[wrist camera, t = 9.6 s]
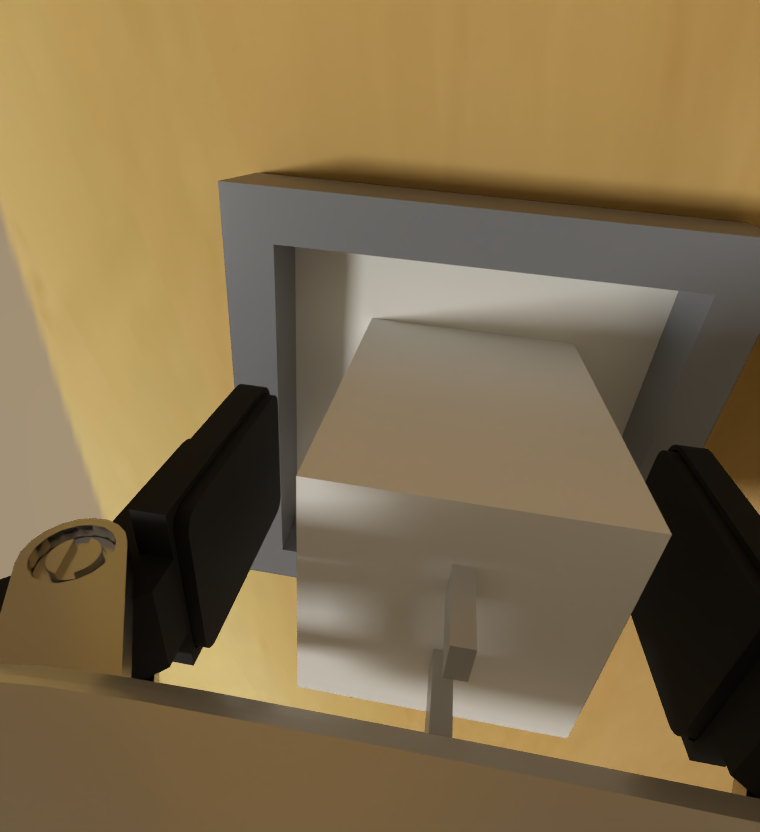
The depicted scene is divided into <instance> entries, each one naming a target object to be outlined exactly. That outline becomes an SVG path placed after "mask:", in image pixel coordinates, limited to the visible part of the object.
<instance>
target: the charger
mask: <svg viewBox="0 0 760 832" xmlns="http://www.w3.org/2000/svg"><path fill="white" fill-rule="evenodd" d="M671 536H672V534H671V532H670V530H669V528H668V526H667V524H666V522H665V520H664V518H663V516H662V514H661V512H660V510H659V508H658V507H657V505H656V503H655V501H654V499H653V497H652V495H651V493H650V491H649V489H648V487H647V485H646V483H645V481H644V479H643V477H642V475H641V473H640V472H639V470H638V468H637V466H636V464H635V462H634V460H633V458H632V456H631V454H630V452H629V450H628V448H627V446H626V444H625V442H624V440H623V438H622V437H621V435H620V433H619V431H618V429H617V427H616V425H615V423H614V421H613V419H612V417H611V415H610V413H609V411H608V409H607V407H606V405H605V404H604V402H603V400H602V398H601V396H600V394H599V392H598V390H597V388H596V386H595V384H594V382H593V380H592V378H591V376H590V374H589V372H588V370H587V369H586V367H585V365H584V363H583V361H582V359H581V357H580V355H579V353H578V351H577V349H576V347H575V345H574V344H572V343H564V342H557V341H549V340H541V339H533V338H525V337H517V336H509V335H501V334H493V333H486V332H478V331H470V330H462V329H454V328H446V327H438V326H430V325H422V324H415V323H407V322H399V321H391V320H383V319H375V318H372V319H371V321H370V324H369V326H368V328H367V330H366V332H365V334H364V336H363V338H362V340H361V342H360V344H359V346H358V348H357V350H356V353H355V355H354V357H353V359H352V361H351V363H350V365H349V367H348V369H347V371H346V373H345V375H344V377H343V380H342V382H341V384H340V386H339V388H338V390H337V392H336V394H335V396H334V398H333V400H332V402H331V404H330V407H329V409H328V411H327V413H326V415H325V417H324V419H323V421H322V423H321V425H320V427H319V429H318V431H317V434H316V436H315V438H314V440H313V442H312V444H311V446H310V448H309V450H308V452H307V454H306V456H305V458H304V461H303V463H302V465H301V467H300V469H299V471H298V473H297V475H296V537H297V662H298V687H302V688H307V689H313V690H318V691H323V692H328V693H333V694H339V695H344V696H349V697H354V698H359V699H365V700H370V701H375V702H380V703H385V704H391V705H396V706H401V707H406V708H411V709H417V710H422V711H426V720H425V733H429V734H435V735H440V736H445V737H450V738H452V720H453V717H458V718H463V719H469V720H474V721H479V722H484V723H490V724H495V725H500V726H505V727H510V728H516V729H521V730H526V731H531V732H536V733H542V734H547V735H552V736H557V737H562V738H568V736H569V734H570V732H571V730H572V728H573V726H574V724H575V722H576V720H577V718H578V716H579V714H580V712H581V710H582V708H583V706H584V705H585V703H586V701H587V699H588V697H589V695H590V693H591V691H592V689H593V687H594V685H595V683H596V681H597V679H598V677H599V675H600V673H601V672H602V670H603V668H604V666H605V664H606V662H607V660H608V658H609V656H610V654H611V652H612V650H613V648H614V646H615V644H616V642H617V640H618V638H619V637H620V635H621V633H622V631H623V629H624V627H625V625H626V623H627V621H628V619H629V617H630V615H631V613H632V611H633V609H634V607H635V605H636V604H637V602H638V600H639V598H640V596H641V594H642V592H643V590H644V588H645V586H646V584H647V582H648V580H649V578H650V576H651V574H652V572H653V570H654V569H655V567H656V565H657V563H658V561H659V559H660V557H661V555H662V553H663V551H664V549H665V547H666V545H667V543H668V541H669V539H670V537H671Z"/></svg>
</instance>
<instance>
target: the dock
mask: <svg viewBox="0 0 760 832" xmlns="http://www.w3.org/2000/svg"><path fill="white" fill-rule="evenodd" d="M218 186H219V198H220V211H221V223H222V236H223V248H224V261H225V274H226V286H227V299H228V311H229V324H230V336H231V349H232V361H233V374H234V386H235V388H236V387H237V386H238V385H239V384H246V385H254V386H261V387H267V388H268V389H269V392H270V395H276V397H277V399H278V423H279V456H280V489H281V499H280V505H279V509H278V512H277V515H276V517H275V519H274V521H273V523H272V525H271V527H270V529H269V531H268V533H267V535H266V537H265V539H264V541H263V543H262V545H261V548H260V550H259V552H258V554H257V556H256V558H255V560H254V562H253V564H252V566H251V568H250V570H256V571H262V572H268V573H273V574H279V575H285V576H291V577H297V537H296V475H297V473H298V471H299V469H300V467H301V465H302V463H303V461H304V458H305V456H306V454H307V452H308V450H309V448H310V446H311V444H312V442H313V440H314V438H315V436H316V434H317V431H318V429H319V427H320V425H321V423H322V421H323V419H324V417H325V415H326V413H327V411H328V409H329V407H330V404H331V402H332V400H333V398H334V396H335V394H336V392H337V390H338V388H339V386H340V384H341V382H342V380H343V377H344V375H345V373H346V371H347V369H348V367H349V365H350V363H351V361H352V359H353V357H354V355H355V353H356V350H357V348H358V346H359V344H360V342H361V340H362V338H363V336H364V334H365V332H366V330H367V328H368V326H369V324H370V321H371V319H372V318H375V319H383V320H391V321H399V322H407V323H415V324H422V325H430V326H438V327H446V328H454V329H462V330H470V331H478V332H486V333H493V334H501V335H509V336H517V337H525V338H533V339H541V340H549V341H557V342H564V343H572V344H574V345H575V347H576V349H577V351H578V353H579V355H580V357H581V359H582V361H583V363H584V365H585V367H586V369H587V370H588V372H589V374H590V376H591V378H592V380H593V382H594V384H595V386H596V388H597V390H598V392H599V394H600V396H601V398H602V400H603V402H604V404H605V405H606V407H607V409H608V411H609V413H610V415H611V417H612V419H613V421H614V423H615V425H616V427H617V429H618V431H619V433H620V435H621V437H622V438H623V440H624V442H625V444H626V446H627V448H628V450H629V452H630V454H631V456H632V458H633V460H634V462H635V464H636V466H637V468H638V470H639V472H640V473H641V475H642V477H643V479H644V481H646V479H647V477H648V475H649V472H650V470H651V468H652V466H653V463H654V461H655V459H656V457H657V455H658V453H659V452H660V451H662V450H666V451H667V450H668V449H669V448H670V447H671V446H672V445H675V444H676V445H683V446H690V447H697V448H703V447H704V445H705V443H706V441H707V439H708V437H709V435H710V433H711V431H712V429H713V427H714V425H715V423H716V421H717V419H718V417H719V415H720V413H721V411H722V409H723V407H724V405H725V403H726V401H727V399H728V397H729V395H730V393H731V391H732V389H733V387H734V385H735V383H736V381H737V378H738V376H739V374H740V372H741V370H742V368H743V366H744V364H745V362H746V360H747V358H748V356H749V354H750V352H751V350H752V348H753V346H754V344H755V342H756V340H757V338H758V336H759V334H760V227H757V226H754V225H751V224H748V223H745V222H736V221H726V220H716V219H706V218H696V217H687V216H677V215H667V214H657V213H647V212H638V211H628V210H618V209H608V208H599V207H589V206H579V205H569V204H559V203H550V202H540V201H530V200H520V199H510V198H501V197H491V196H481V195H471V194H462V193H452V192H442V191H432V190H422V189H413V188H403V187H393V186H383V185H373V184H364V183H354V182H344V181H334V180H325V179H315V178H305V177H295V176H285V175H276V174H266V173H253V174H249V175H244V176H239V177H235V178H230V179H225V180H221V181H218Z"/></svg>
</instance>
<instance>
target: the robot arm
mask: <svg viewBox="0 0 760 832" xmlns="http://www.w3.org/2000/svg"><path fill="white" fill-rule="evenodd" d="M645 483H646V485H647V487H648V489H649V491H650V493H651V495H652V497H653V499H654V501H655V503H656V505H657V507H658V508H659V510H660V512H661V514H662V516H663V518H664V520H665V522H666V524H667V526H668V528H669V530H670V532H671V534H672V536H671V537H670V539H669V541H668V543H667V545H666V547H665V549H664V551H663V553H662V555H661V557H660V559H659V561H658V563H657V565H656V567H655V569H654V570H653V572H652V574H651V576H650V578H649V580H648V582H647V584H646V586H645V588H644V590H643V592H642V594H641V596H640V598H639V600H638V602H637V604H636V605H635V607H634V609H633V611H632V613H631V616H632V619H633V622H634V625H635V627H636V630H637V633H638V636H639V639H640V642H641V645H642V648H643V651H644V653H645V656H646V659H647V662H648V665H649V668H650V671H651V674H652V677H653V680H654V682H655V685H656V688H657V691H658V694H659V697H660V700H661V703H662V706H663V708H664V711H665V714H666V717H667V720H668V723H669V725H670V728H671V730H672V731H673V732H674V734H676V735H677V736H681V737H682V740H683V743H684V746H685V748H686V751H687V754H688V757H689V760H691V761H697V762H702V763H707V764H712V765H718V766H723V767H725V766H727V768H728V770H729V773H730V775H731V776H732V777H733V778H734V780H733V788H732V793H728V792H723V791H718V790H713V789H708V788H703V787H698V786H693V785H688V784H683V783H678V782H673V781H668V780H663V779H658V778H653V777H648V776H643V775H638V774H633V773H628V772H623V771H619V770H614V769H609V768H604V767H598V766H593V765H588V764H583V763H578V762H573V761H568V760H563V759H558V758H553V757H547V756H542V755H537V754H532V753H527V752H522V751H517V750H512V749H507V748H501V747H496V746H491V745H486V744H481V743H476V742H471V741H465V740H460V739H455V738H450V737H445V736H440V735H435V734H429V733H424V732H419V731H414V730H409V729H404V728H398V727H393V726H388V725H383V724H378V723H373V722H367V721H362V720H357V719H352V718H346V717H341V716H336V715H330V714H325V713H320V712H315V711H309V710H304V709H299V708H293V707H288V706H283V705H278V704H272V703H267V702H262V701H256V700H251V699H246V698H241V697H235V696H230V695H225V694H219V693H214V692H209V691H204V690H198V689H192V688H186V687H180V686H174V685H169V684H163V683H159V672H161V671H163V670H165V669H167V668H169V667H170V665H171V663H172V662H178V663H183V664H189V665H194V663H195V661H196V659H197V657H198V656H199V654H200V652H201V650H202V648H203V647H206V648H210V647H211V646H212V645H213V644H214V642H215V640H216V638H217V636H218V634H219V632H220V630H221V628H222V626H223V624H224V622H225V620H226V618H227V616H228V614H229V612H230V610H231V607H232V605H233V603H234V601H235V599H236V597H237V595H238V593H239V591H240V589H241V587H242V585H243V583H244V581H245V579H246V576H247V574H248V572H249V570H250V568H251V566H252V564H253V562H254V560H255V558H256V556H257V554H258V552H259V550H260V548H261V545H262V543H263V541H264V539H265V537H266V535H267V533H268V531H269V529H270V527H271V525H272V523H273V521H274V519H275V517H276V515H277V512H278V509H279V505H280V499H281V489H280V456H279V423H278V399H277V397H276V395H270V392H269V389H268V388H267V387H261V386H254V385H246V384H239V385H238V386H237V387H236V388H235V389H234V390H233V391H232V392H231V393H230V395H229V396H228V397H227V398H226V399H225V400H224V401H223V403H222V404H221V405H220V406H219V407H218V408H217V409H216V410H215V412H214V413H213V414H212V415H211V416H210V417H209V418H208V420H207V421H206V422H205V423H204V424H203V425H202V426H201V428H200V429H199V430H198V431H197V432H196V433H195V434H194V435H193V437H192V438H191V439H187V440H186V441H185V442H183V443H182V444H181V445H180V447H179V448H178V449H177V450H176V451H175V452H174V453H173V454H172V456H171V457H170V458H169V459H168V460H167V461H166V462H165V463H164V464H163V466H162V467H161V468H160V469H159V470H158V471H157V472H156V473H155V475H154V476H153V477H152V478H151V479H150V480H149V481H148V482H147V484H146V485H145V486H144V487H143V488H142V489H141V490H140V491H139V492H138V494H137V495H136V496H135V497H134V498H133V499H132V500H131V501H130V503H129V504H128V505H127V506H126V507H125V508H124V509H123V510H122V512H121V513H120V514H119V515H118V516H117V517H116V518H115V519H114V520H113V522H112V521H109V520H105V519H97V518H89V519H78V520H74V521H71V522H67V523H63V524H60V525H58V526H56V527H54V528H51V529H49V530H47V531H45V532H43V533H42V534H40V535H39V536H37V537H36V538H34V539H33V540H31V542H29V543H28V545H27V546H26V547H25V548H24V549H23V550H22V551H21V552H20V554H19V556H18V558H17V560H16V562H15V564H14V567H13V571H12V574H11V576H8V577H6V578H3V579H0V832H760V515H759V514H758V513H757V511H756V510H755V509H754V507H753V506H752V505H751V503H750V502H749V501H748V500H747V498H746V497H745V496H744V494H743V493H742V492H741V490H740V489H739V488H738V487H737V485H736V484H735V483H734V481H733V480H732V479H731V477H730V476H729V475H728V473H727V472H726V471H725V470H724V468H723V467H722V466H721V464H720V463H719V462H718V460H717V459H716V458H715V457H714V455H713V454H712V453H711V452H710V451H709V450H708V449H704V448H697V447H690V446H683V445H676V444H675V445H672V446H671V447H670V448H669V449H668V450H667V451H666V450H662V451H660V452H659V453H658V455H657V457H656V459H655V461H654V463H653V466H652V468H651V470H650V472H649V475H648V477H647V479H646V481H645Z"/></svg>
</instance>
